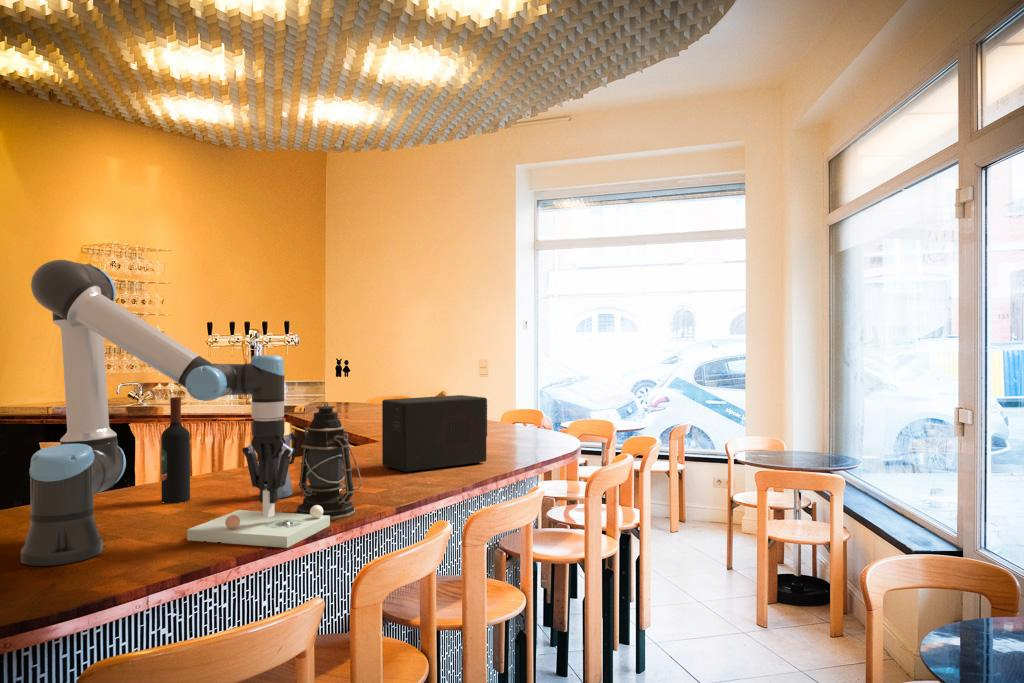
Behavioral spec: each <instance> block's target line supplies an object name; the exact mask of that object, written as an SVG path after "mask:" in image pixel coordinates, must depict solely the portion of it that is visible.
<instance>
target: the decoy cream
mask: <svg viewBox="0 0 1024 683" xmlns="http://www.w3.org/2000/svg"><path fill="white" fill-rule="evenodd" d="M310 514H311V516H312V517H313V518H320V517H321V516H322V515H323V508H322V507H321V506H319V505H315V506H313V507H312V508H311V510H310Z"/></svg>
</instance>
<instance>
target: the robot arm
mask: <svg viewBox="0 0 1024 683" xmlns="http://www.w3.org/2000/svg"><path fill="white" fill-rule="evenodd" d="M30 281H31V282H30V283H31V284H30V288H31V289H30V290H31V293H32V295H33V297H34V298H35V300H36V301H37V303H38V304H40V305H41V306H42V307H43V308H44V309H46V310H48V311H50V312H51V314H52V315H51V316H52V323H53V324H55V325H56V326H57V327H58V328H60V331H61V332H60V333H61V334H60V335H61V350H62V365H63V381H64V399H65V413H66V429H67V430H66V433H65V434H64V435H63V436H62V437H61V438H60V440H59V443H60V444H57V445H54V446H47V447H45V448H41V449H39V450H37V451H36V452H35V453H33V455H32V456H31V459H30V467H29V477H30V478H29V480H30V481H29V482H30V490H29V492H30V525H29V528H28V531H27V532H26V533H27V534H26V537H25V541H24V545H23V546H22V547H21V550H20V562H21V564H23V565H26V566H31V567H32V566H33V567H37V566H38V567H47V566H59V565H67V564H72V563H78V562H80V561H85V560H88V559H91V558H94V557H96V556H98V555H100V554H101V553H102V552H103V550H104V548H103V547H104V545H103V542H104V541H103V537H102V536H100V533H99V532H100V531H99V529H98V525H97V522H96V520H95V517H94V514H95V513H94V506H95V505H94V501H95V500H94V495H96V494H99V493H102V492H105V491H107V490H109V489H110V488H112V487H113V486H114V485H115V484H116V483H118V482H119V481H120V479H121V478H122V476H123V475H124V473H125V470H126V468H127V467H126V466H127V460H126V455H125V453H124V450H123V449H122V448H121V447H120V446H119V445H118V444H119V442H118V434H117V433H116V432H115V431H114V430H113V429H112V428H111V427H110V420H109V419H110V417H109V416H110V415H109V402H108V401H109V400H108V384H107V368H106V354H105V352H106V351H105V339H106V340H108V341H109V342H111V343H112V344H114V345H115V346H116V347H118V348H120V349H121V350H124V351H125V352H126V353H128V354H130V355H131V356H132V357H133V356H134V357H135V358H136V359H138V360H140V361H142V362H143V363H144V364H146V365H148V366H149V367H152V368H153V369H154V370H156V371H157V372H159V373H161V374H162V375H163V376H166V377H168V378H169V379H170V380H172V381H174V382H175V383H177V384H179V385H180V386H182V387H183V388H185V389H186V391H187V393H188V394H189V395H190V397H192V398H194V399H196V400H198V401H205V402H208V401H213V400H214V401H215V400H217V399H218V398H223V397H225V396H242V395H244V396H249V395H251V418H252V419H253V420H252V421H251V435H252V439H251V442H250V444H249V445H247V446H246V447H242V450H241V451H242V453H243V455H244V456H245V458H246V464H247V468H248V472H249V477H250V482H251V486H252V487H253V488H257V489H259V501H260V504H262V511H263V518H269V517H272V516H274V515H275V512H276V510H275V504H276V503H277V502H278V499H277V489H278V488H280V487H282V486H284V485H285V482H286V477H287V472H288V471H289V467H290V465H289V463H290V461H291V459H292V454H293V453H294V448H293V447H291V446H290V447H288V446H287V445H286V444H285V440H284V435H285V420H284V417H285V375H286V374H285V368H284V367H285V366H284V359H283V357H282V356H281V355H278V354H273V355H269V354H268V355H266V354H265V355H260V354H259V355H253V356H252V357H251V359H250V362H248V363H212V362H210V360H207V359H205V358H204V357H202V356H200V355H199V354H198V353H196V352H194V351H193V350H192V349H190V348H188V347H186V345H183V344H182V343H180V342H178V341H177V340H176V339H174V338H172V337H171V336H169V335H167V334H166V333H164V332H163V331H161V330H159V329H158V328H156V327H154V326H153V325H151V324H150V323H149V322H146V321H145V320H143V319H142V318H140V317H139V316H137V315H135V314H134V313H132V312H131V311H129V310H128V309H126V308H124V307H123V306H121V305H120V304H118V303H117V302H115V300H116V295H117V290H116V286H115V283H114V281H113V279H112V277H111V276H110V275H109V274H108V273H106V272H105V271H104V270H102V269H100V268H99V267H98V266H94V265H91V264H88V263H81V262H76V261H72V260H66V259H54V260H51V261H47V262H45V263H43V264H42V265H41V266H39V267H38V268H37V269H36V270H35V271H34V273H33V276H31V280H30ZM281 451H282V452H281ZM280 452H281V454H282V457H281V460H280V465H279V469H278V460H279V454H280Z"/></svg>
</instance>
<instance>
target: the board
mask: <svg viewBox="0 0 1024 683" xmlns="http://www.w3.org/2000/svg"><path fill="white" fill-rule="evenodd" d="M231 515H236V516H238V517H239V519H240V524H239V526H238V527H237V528H235V529H229V528H228V527H227V526H226V524H225V522H226V519H227V518H228V517H229V516H231ZM283 521H289V522H291V524H292V525H288V526H279V525H280V523H281V522H283ZM330 526H331V520H330V516H326V515H322V516H321V517H320V518H313V517H312V516H311V514H296V513H294V512H293V513H291V512H277V511H275V515H274V516H272V517H269V518H263V510H262V511H261V510H259V511H258V510H244V509H243V510H242V509H237V510H235V511H233V512H230V513H227V514H224V515H221V516H219V517H217V518H214V519H211V520H209V521H207V522H203V523H201V524H198V525H196V526H193V527H190V528H188V529H187V530H186V532H187V534H186V535H187V537H186V538H187V539H186V540H187V541H193V542H204V541H206V542H205V543H217V542H221V543H220V544H233V545H247V546H259V547H270V548H285V549H288V548H289V547H292V546H293V545H296V544H297V543H299V542H301V541H303V540H305V539H307V538H309V537H311V536H313V535H314V534H317V533H319V532H320V531H322V530H325V529H326V528H328V527H330Z"/></svg>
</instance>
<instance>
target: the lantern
mask: <svg viewBox="0 0 1024 683" xmlns="http://www.w3.org/2000/svg"><path fill="white" fill-rule="evenodd" d="M315 408H316V409H318V411H317V412H314V413H313V419H312V420H311V423H310V425H309V426H307V427H304V436H305V439H303V441H302V445H300V447H301V448H302V456H301V457H302V459H301V463H300V465H301V466H300V475H299V483H298V486H299V488H300V490H301V492H302V495H303V499H302V503H301V504H299V505H297V507H296V513H295V514H310V510H311V508H312V507H313V506H315V505H319V506H321V507H322V508H323V515H326V516H330V521H336V520H341V519H347V518H348V517H351V516H353V515H355V514H356V508H355V503H354V502H352V501H350V500H351V498H352V497H353V495H354V493H355V491H359V489H361V487H362V486H363V484H364V483H363V481H362V476H361V474H360V469H359V466H358V463H357V462H356V459H355V456H354V453H353V451H352V448H351V443H349V434H348V433H344V430H347V429H348V427H346V426H343V425H342V421H341V420H340V419H339V418H338V417H339V416H338V412H337V411H334V410H333V409H336V406H334V405H329V402H327V401H326V402H324V404H323V405H320V406H316V407H315ZM350 455H351V456H350ZM350 457H352V459H353V462H354V466H356V470H357V473H358V476H359V477H358V478H359V479H360V480H359V481H360V485H358V487H357V488H354V481H353V475H352V466H351V458H350ZM342 481H344V483H345V484H344V483H341V482H342ZM308 484H309V485H308ZM340 489H342V490H345V493H344V494H343V493H341V492H340V491H339V490H340Z"/></svg>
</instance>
